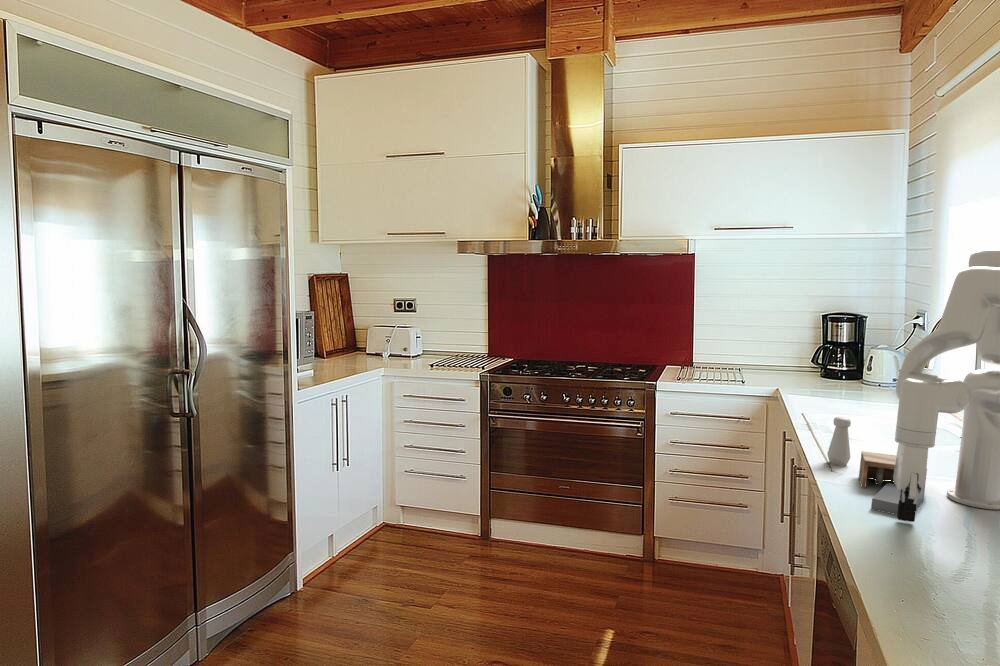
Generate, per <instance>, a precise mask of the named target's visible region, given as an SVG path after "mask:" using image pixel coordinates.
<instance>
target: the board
mask: <svg viewBox="0 0 1000 666" xmlns="http://www.w3.org/2000/svg"><path fill="white" fill-rule="evenodd" d="M925 491H926V490H925ZM925 491H924V490H923V492H922V493H919V492H918V494H917V501H916V509H917V508H918V507H919V508H920V506H921V505H922V504H923V503H924V501H925ZM899 500H901V499H900V490H898V489H897V487H896V485H895V483H892V482H887V483H886V484H885V485H883V487H882V488H881V489H880V490H879V491H878V492H877V493H876V494H875V495H874V496H873V497H872V498H871V506H870V510H873V509H874V511H877V510H880V511H879V512H881V511H884V512H883V513H886V512H890V513H894V514H897V512H898V503H899ZM923 500H924V501H923ZM921 503H922V504H921ZM920 504H921V505H920ZM919 505H920V506H919ZM919 508H918V509H919ZM918 509H917V510H918ZM890 513H889V514H890ZM894 514H893V515H894Z"/></svg>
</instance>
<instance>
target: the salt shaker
mask: <svg viewBox="0 0 1000 666" xmlns="http://www.w3.org/2000/svg"><path fill="white" fill-rule="evenodd" d="M851 422H852V421H851V419H850V418H848V417H845V416H836V417H834V418H833V426H835V428H834V432H833V435H832V438H831V441H830V444H829V447H828V450H827V453H826V454H827V459H828V461H829V464H831V465H834V466H836V467H838V466H839V467H845V466H847V465H848V463H849V461H850V460H851V450H850V449H851V447H850V439H849V428H850V427H851V426H852V425H851V424H852V423H851Z"/></svg>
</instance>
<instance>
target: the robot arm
mask: <svg viewBox="0 0 1000 666" xmlns="http://www.w3.org/2000/svg"><path fill="white" fill-rule="evenodd" d="M976 343H977V345H976V352H977V354H976V355H977V356H978V359H980V361H983V362H984V363H987V364H992V365H997V366H1000V247H990V248H989V247H987V248H981V249H977V250H975V251H974V252H972V253H971V254H970V255H969V259H968V267H967V268H964V269H962V270H961V271H959V273H957V274H956V277H955V279H954V282H953V284H952V287H951V290H950V292H949V296H948V299H947V302H946V304H945V308H944V309H943V313H942V315H941V318H940V321H939V324H938V326H937V328H936V329H935V330H933V331H932V332H930V333H929V334H927V335H925V337H923V338H922V339H920V340H919V341H918V342H917V343H916V344H915V345H914V346H913V347H912V348H910V350H909V351H908V352H907V354H906V356H905V357H904V359H903V362H902V365H901V368H900V371H899V373H898V376H897V381H896V385H895V394H896V397H897V399H898V408H897V416H896V424H895V425H896V426H895V427H896V428H895V434H894V441H895V442H896V443H898V444H897V450H896V454H895V455H896V462H895V468H894V474H893V481H894V482H893V484H895V485H896V487H897V489H898V490H900V499H901V500H899V503H898V512H897V515H896V516H897V519H898V520H899V521H904V522H911V523H914V522H915V520H916V519H915V518H916V511H917V510H916V501H917V494H918V492H919V493H922V492H923V490H924V485H925V486H926V482H925V477H926V478H927V474H926V469H927V470H928V468H927V466H928V459H929V457H928V456H929V449H930V448H931V449H932V448H934V447H936V445H935V444H936V435H937V428H938V427H937V426H938V419H939V413H943V414H958V413H960V412H962V411H963V417H962V418H963V419H962V431H961V438H960V446H959V454H958V460H957V461H958V462H957V469H956V479H955V487H953V488H950V489H948V490H947V491H946V496H947V497H948V499H950V500H952V501H954V502H956V503H959V504H962V505H964V506H969V507H972V508H973V507H974V508H977V509H984V510H998V511H1000V370H996V369H995V370H994V369H987V368H986V369H985V368H984V369H976V370H973V371H970V372H969V373H967V374H966V376H965V377H964V378H963V379H964V380H963V381H961V380H959V379H955V378H951V377H946V376H945V377H944V376H940V375H934V374H930V373H929V374H928V373H923V371H924V369H925V367H926V366H927V364H928V363H929V362H931V360H933V359H934V358H936V357H937V356H939V355H941V354H944V353H946V352H949V351H953V350H957V349H959V348H964V347H967V346H971V345H974V344H976Z"/></svg>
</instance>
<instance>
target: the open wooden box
mask: <svg viewBox="0 0 1000 666" xmlns="http://www.w3.org/2000/svg"><path fill="white" fill-rule="evenodd" d="M896 455H897V454H895V455H894V454H887V453H879V452H871V451H864V450H863V451H862V450H861V453H860V463H859V471H858V472H859V473H858V477H860V479H859V481H861V482H860V486H861V485H862V486H861V488H862V487H863V488H864V489H866V487H867V480H868V479H867V478H873V479H872V480H874V479H876V480H874V481H875V484H876V483H877V484H876V485H883V482H884V481H883V480H891V481H893V474H894V468H895V462H896ZM927 471H928V468H927V469H926V475H927V473H928V472H927ZM926 480H927V476H926V477H925V483H926ZM925 489H926V484H925V485H924V491H926V490H925Z"/></svg>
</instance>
